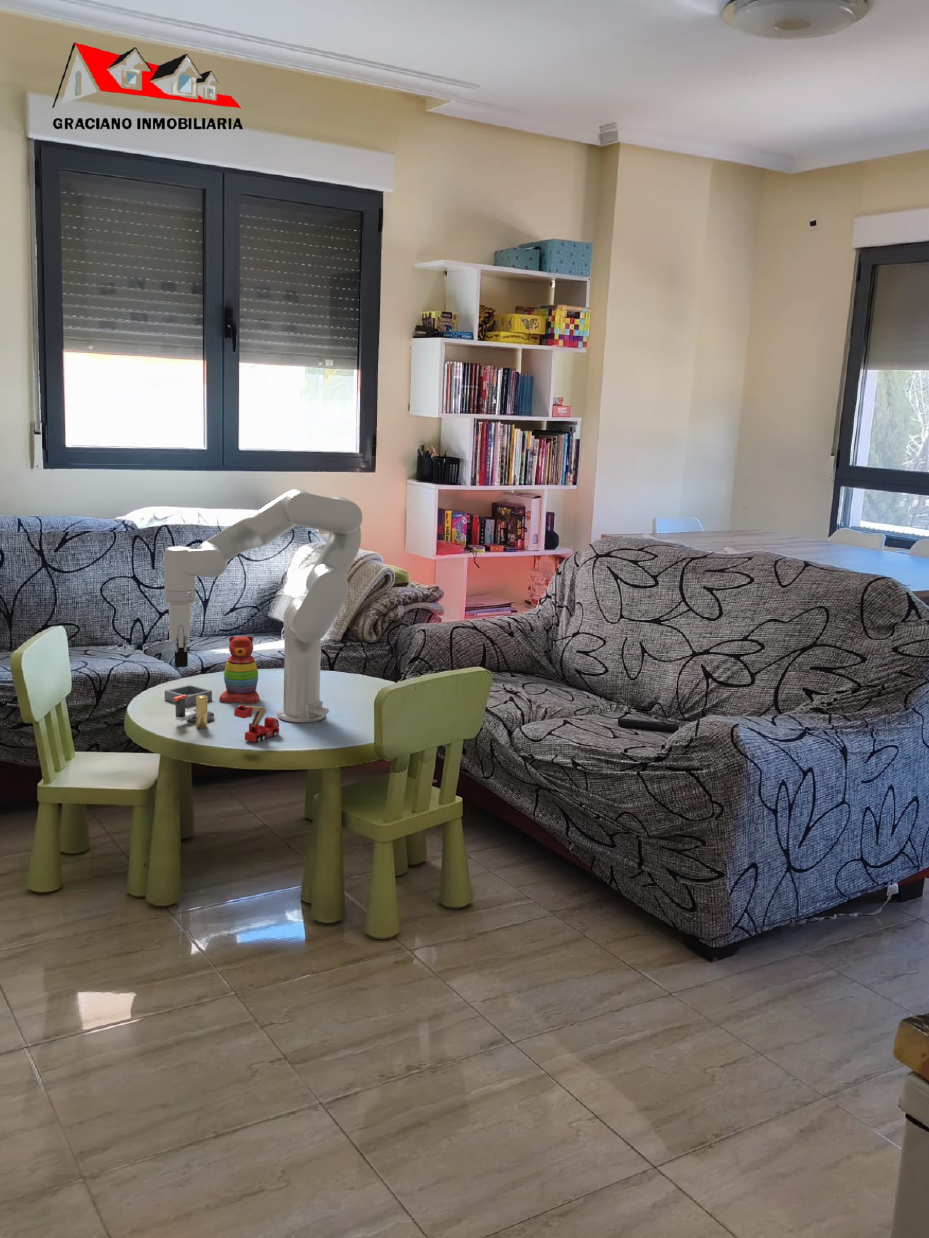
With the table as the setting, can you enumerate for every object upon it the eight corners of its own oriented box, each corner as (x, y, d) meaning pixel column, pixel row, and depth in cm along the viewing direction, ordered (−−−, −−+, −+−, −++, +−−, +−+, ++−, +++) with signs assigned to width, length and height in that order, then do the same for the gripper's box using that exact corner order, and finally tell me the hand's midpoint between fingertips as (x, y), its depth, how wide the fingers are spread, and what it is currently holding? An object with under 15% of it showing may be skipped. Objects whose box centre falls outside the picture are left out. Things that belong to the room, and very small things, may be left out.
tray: (212, 699, 303) (212, 690, 302) (186, 706, 295) (186, 696, 295) (189, 693, 308) (189, 684, 307) (164, 699, 300) (164, 690, 300)
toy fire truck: (280, 734, 275) (281, 697, 273) (243, 747, 264) (244, 709, 262) (270, 732, 277) (271, 695, 275) (233, 745, 265) (233, 706, 263)
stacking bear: (217, 702, 300) (218, 639, 297) (224, 693, 310) (224, 631, 307) (257, 704, 301) (258, 641, 297) (262, 694, 311) (263, 633, 307)
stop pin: (209, 727, 278) (209, 696, 277) (200, 729, 276) (201, 698, 274) (202, 724, 280) (202, 694, 278) (193, 726, 277) (193, 696, 276)
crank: (200, 711, 287) (200, 688, 285) (210, 713, 285) (210, 690, 284) (169, 720, 278) (169, 696, 276) (179, 722, 276) (179, 699, 275)
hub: (219, 718, 285) (219, 714, 285) (199, 724, 280) (199, 720, 279) (201, 713, 289) (201, 709, 289) (180, 719, 284) (180, 714, 283)
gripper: (165, 590, 281) (166, 659, 285) (164, 601, 267) (165, 674, 270) (194, 590, 283) (195, 659, 286) (195, 601, 269) (196, 673, 272)
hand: (181, 666), depth 278 cm, fingers closed
